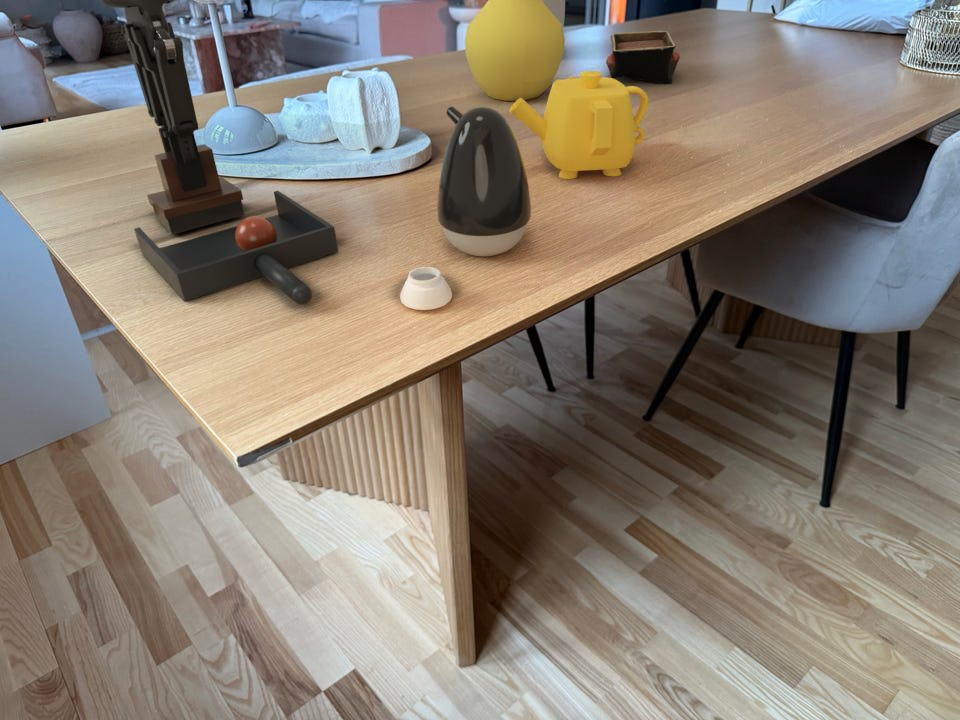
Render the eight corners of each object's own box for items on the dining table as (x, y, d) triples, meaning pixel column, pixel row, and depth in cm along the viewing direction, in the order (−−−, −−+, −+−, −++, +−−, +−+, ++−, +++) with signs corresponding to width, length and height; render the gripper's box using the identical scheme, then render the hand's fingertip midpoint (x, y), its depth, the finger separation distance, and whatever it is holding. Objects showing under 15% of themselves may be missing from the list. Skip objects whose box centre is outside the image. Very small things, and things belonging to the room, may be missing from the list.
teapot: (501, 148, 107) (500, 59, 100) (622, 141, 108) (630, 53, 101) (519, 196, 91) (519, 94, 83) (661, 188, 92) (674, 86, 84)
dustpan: (142, 254, 79) (133, 228, 77) (282, 214, 88) (277, 190, 86) (222, 345, 63) (214, 314, 61) (385, 285, 72) (382, 257, 70)
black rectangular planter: (600, 95, 139) (607, 43, 132) (607, 61, 152) (614, 12, 145) (673, 102, 137) (684, 50, 130) (674, 67, 150) (684, 18, 143)
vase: (509, 113, 123) (508, -88, 106) (447, 94, 135) (437, -89, 118) (582, 94, 132) (592, -93, 115) (518, 78, 144) (519, -93, 127)
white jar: (404, 316, 66) (456, 309, 67) (401, 289, 65) (454, 282, 65) (398, 292, 70) (447, 285, 71) (395, 265, 69) (445, 259, 69)
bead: (254, 259, 74) (247, 267, 78) (288, 239, 76) (280, 249, 80) (229, 223, 73) (224, 233, 77) (265, 204, 75) (258, 215, 79)
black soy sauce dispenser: (487, 220, 85) (484, 89, 76) (549, 246, 78) (553, 106, 69) (420, 245, 79) (409, 107, 71) (480, 276, 73) (476, 128, 64)
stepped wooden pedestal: (154, 219, 86) (134, 154, 82) (227, 200, 91) (212, 137, 86) (170, 235, 82) (150, 167, 78) (247, 215, 87) (232, 149, 82)
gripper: (193, -38, 67) (245, 194, 81) (145, -47, 78) (198, 161, 91) (111, -32, 64) (180, 211, 77) (72, -42, 74) (139, 174, 87)
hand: (190, 183), depth 84 cm, fingers closed on stepped wooden pedestal, 2 cm apart
